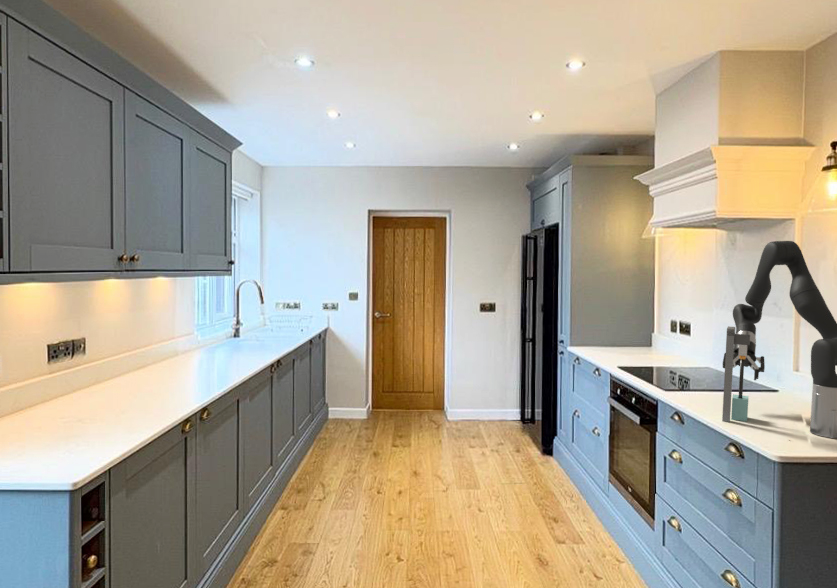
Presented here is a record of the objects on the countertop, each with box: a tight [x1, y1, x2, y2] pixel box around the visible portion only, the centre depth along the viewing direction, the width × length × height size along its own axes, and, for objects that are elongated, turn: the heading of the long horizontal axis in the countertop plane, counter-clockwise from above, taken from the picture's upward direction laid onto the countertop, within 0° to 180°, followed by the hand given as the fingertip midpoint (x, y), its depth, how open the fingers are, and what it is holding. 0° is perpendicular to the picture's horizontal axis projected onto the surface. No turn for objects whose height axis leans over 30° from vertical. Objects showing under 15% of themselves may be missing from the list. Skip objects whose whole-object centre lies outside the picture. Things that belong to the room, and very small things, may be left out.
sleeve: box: [730, 393, 750, 422], centre depth 209 cm, size 7×5×8 cm
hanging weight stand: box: [721, 326, 750, 423], centre depth 206 cm, size 8×7×35 cm
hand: (742, 377), depth 219 cm, fingers open, 8 cm apart
